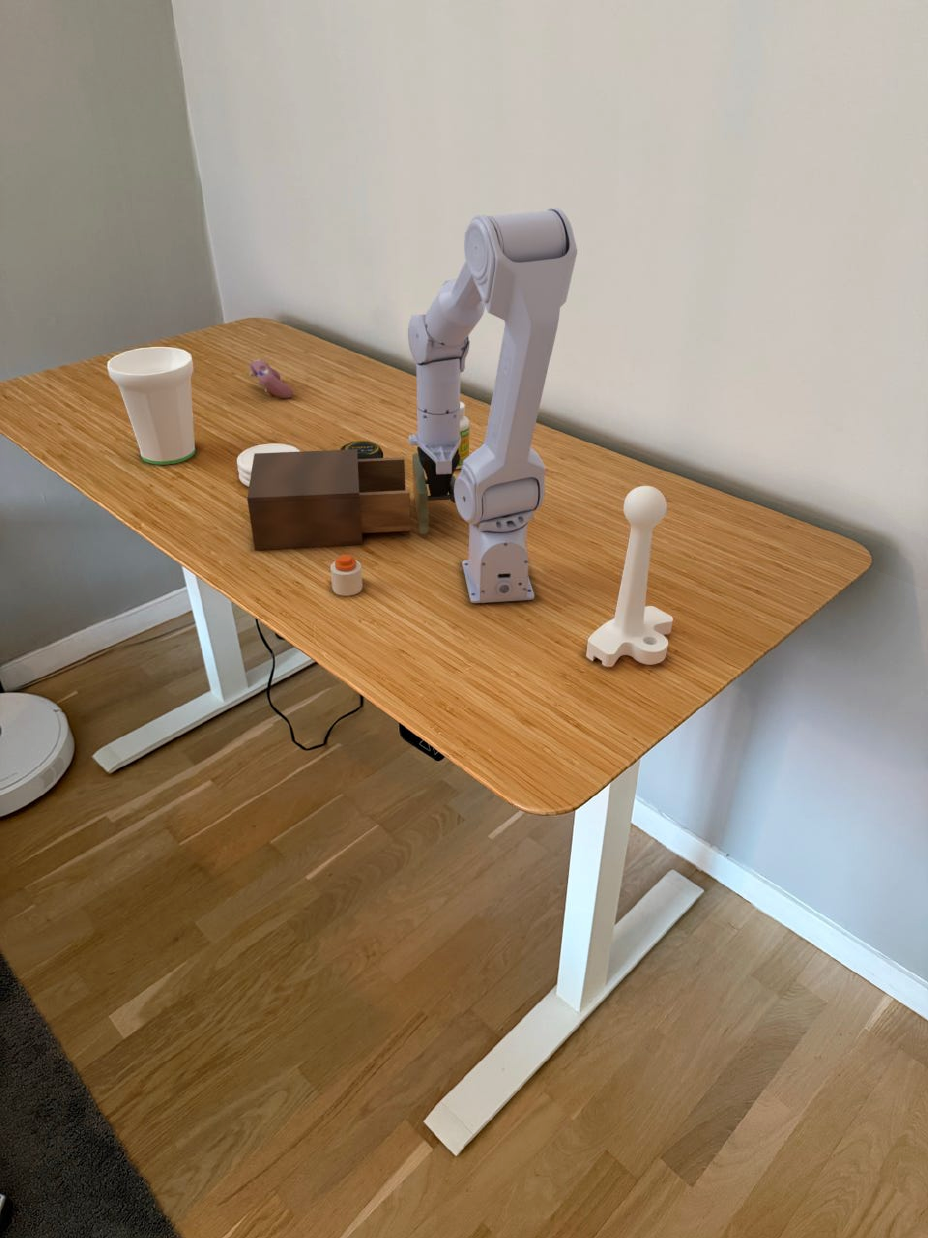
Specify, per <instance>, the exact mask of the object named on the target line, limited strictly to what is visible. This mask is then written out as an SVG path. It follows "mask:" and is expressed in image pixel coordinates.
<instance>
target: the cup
mask: <svg viewBox="0 0 928 1238" xmlns="http://www.w3.org/2000/svg"><path fill="white" fill-rule="evenodd" d="M106 366H107V372H108V376H109V379H110V380H111V381H113V382H114V384H116V385H117V386H118V389H119V392H120V395H121V398H122V401H123V404H124V406H125V407H124V408H125V410H126V413H127V416H128V418H129V421H130V424H131V427H132V430H133V433H134V436H135V439H136V442H137V445H138V447H139V453H140V456H141V459H142V460H143V461H144V462H145V463H147V464H152V465H158V466H166V465H174V464H179V463H183V462H185V461H187V460H189V459H191V458H192V457H193V456H194V455H195V453H196V445H195V427H194V411H193V395H192V394H193V393H192V379H191V378H192V376H193V373H194V371H195V369H194V362H193V357H192V354H190V353H189V352H187V350H184V349H182V348H181V349H180V348H176V347H170V346H169V347H168V346H152V347H141V348H135V349H131V350H126V351H124V352H121V353H119V354H116V355H114V356H113V357H112V358H110V359H109V360H108V361H107V365H106Z"/></svg>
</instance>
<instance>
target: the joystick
mask: <svg viewBox="0 0 928 1238" xmlns="http://www.w3.org/2000/svg"><path fill="white" fill-rule="evenodd" d="M667 504H668V503H667V499H666V497H665V495H664V494H663V493H662V492H661V490H660V489H658V488H656V487H654V486H651V485H640V486H637V487H635V488H633V489H632V490H631V491H630V492H628V494H627V495H626V497H625V499H624V502H623V514H624V517H625V518H626V520H627V521H628V522H629V525H630V533H629V539H628V544H627V549H626V554H625V555H626V556H625V559H624V565H623V571H622V576H621V580H620V586H619V592H618V597H617V602H616V608H615V613H614V617H613V618H611V619H609V620H607V621H606V622H605V623H603V624H602V625H600V627H598V628H597V629H596V630H595V631H593V633H592V634H591V635H590V636H589V637H588V638H587V645H586V653H585V655H586V659H588V660H590V661H591V662H594V660H595V659H596V658H597V659H598V660H600V661H601V665H602V666H604V667H607V668H610V667H614V665H615V664H616V662H617V660H619V658H621V656H629V657H632V658H633V659H634V661H637V662H638V663H640V664H642V665H649V666H651V665H652V666H653V665H657V664H660V663H663V661H665V659H666V657H667V653H668V647H669V646H668V645H669V640H668V638H667V637H666V636H665V635H669V634H671V633H672V627H673V623H674V618H673V617H672V616H671V615H669V613H666V612H664V611H663V610H661V609H659V608H657V607H656V606H653V605H647V606H646V599H647V588H648V580H649V579H648V578H649V568H650V560H651V559H650V558H651V549H652V540H653V539H652V537H653V530H654V528H655V527H656V526H657V525H659V524H660V523H661V522H662V521H663V520H664V518H665V516H666V514H667V511H668V510H667V509H668V505H667Z"/></svg>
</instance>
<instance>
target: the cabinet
mask: <svg viewBox="0 0 928 1238" xmlns="http://www.w3.org/2000/svg"><path fill="white" fill-rule="evenodd" d="M246 499H247V507H248V513H249V519H250V527H251V534H252V540H253V547H254V551H265V550H283V549H284V550H285V549H304V548H305V549H306V548H322V547H339V546H340V547H341V546H342V547H343V546H358V545H361V546H362V545H363V533H362V526H361V511H360V496H359V478H358V460H357V449H347V450H340V449H327V450H326V449H325V450H304V451H303V450H300V452H277V453H255V454H254V459H253V465H252V471H251V478H250V484H249V487H248V491H247V497H246Z"/></svg>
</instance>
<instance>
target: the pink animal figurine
mask: <svg viewBox="0 0 928 1238" xmlns="http://www.w3.org/2000/svg"><path fill="white" fill-rule="evenodd" d="M248 366H249V369H250V371H249V375H250V376H251V377H252V378H254V377H256V378H257V379H258V381H259V384H260V385H261V386H262V388H264V390H263V391H264V392H265V393H266V394H269V396H270V397H271V396H272V395H274V396H277V397H279V398H282V399H291V398H292V397H293V394H294V392H293V389H292V388H291V386H289V385H288V384H286V383H284V382H283V381H281V374H280V373H279V371H277V370H276V369H275V368H273V367H271V365H270V364H269V363H268V362H266V361H264V360H260V358H258V359H257V360H256V359H255V360H253V361H252V362H251V363H249V364H248Z"/></svg>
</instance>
